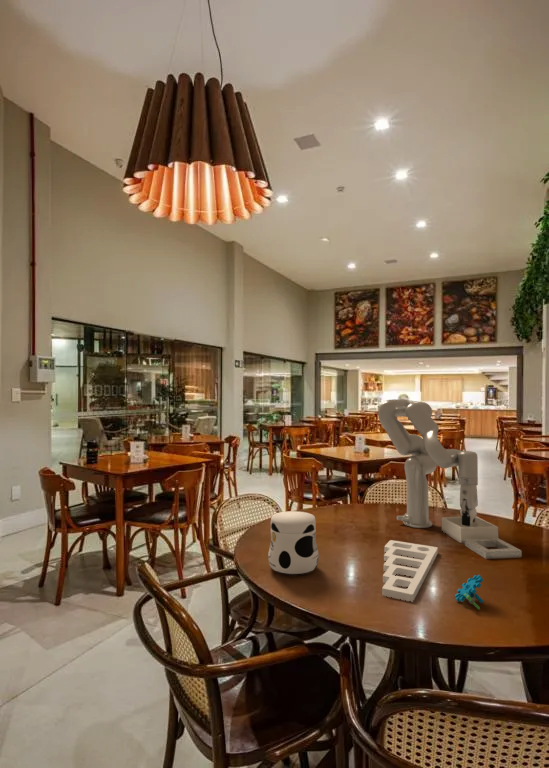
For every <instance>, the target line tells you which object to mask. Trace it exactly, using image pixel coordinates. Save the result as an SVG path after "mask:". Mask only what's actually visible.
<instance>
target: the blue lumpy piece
mask: <svg viewBox="0 0 549 768" xmlns="http://www.w3.org/2000/svg"><path fill="white" fill-rule="evenodd" d="M466 581H467V582H466V583H465V582H463V583H462V584H461V587H462V588H458V589H457V590H456V592H457V593H456V594H455V595H454V597H455V600H456V601H457V603H459V602H461V603H462V602H464V601H465V599H466V600H467V601H468V603H469V604H470V605H473V606H474V607H475V609H477V610H478V611H479V610H480V609H481V607H480V606H479V605H478V604H477V603H476V602H475V601H476V600H477V601H478V602H479V603H480V604H483V602H484V600H483V599H482V598H481V596H479V594H478V593H477V590H476V588H478V589H480V587H481V586H482V584H481V583H483V581H484V578H483V577H482V576H481V574H478V575H476V574H474V575H473V577H469V578H468V579H467V580H466Z"/></svg>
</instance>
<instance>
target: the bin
mask: <svg viewBox="0 0 549 768" xmlns="http://www.w3.org/2000/svg"><path fill="white" fill-rule="evenodd" d="M442 531H443V532H442ZM441 532H442V533H443V534H445V533H446V535H447V536H449V537H450V538H452V539H453V540H454V541H457V542H458V543H460V544H465V540H466V539H489V538H499V527H498V526H497V525H496V524H493V523H491V522H489V521H487V520H485V519H483V518H480V517H479V516H477V515H476V517H475V522H473V523H472V527H465V525H462V516H442V517H441Z"/></svg>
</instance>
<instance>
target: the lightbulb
mask: <svg viewBox="0 0 549 768" xmlns="http://www.w3.org/2000/svg"><path fill="white" fill-rule="evenodd" d="M466 508H468V507H466ZM459 511H460V516H462V510H461V508H460V510H459ZM466 511H467V513H468V510H466ZM477 513H478V512H477V508H474V509H473V510H471V509H470V514H469V516H470V526H465V527H472V523H473V520H474V518H475V517H476V516H477V515H478V514H477Z"/></svg>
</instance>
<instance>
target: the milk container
mask: <svg viewBox="0 0 549 768" xmlns="http://www.w3.org/2000/svg"><path fill="white" fill-rule="evenodd" d="M316 525H317V522H316V517H315V515H314V514H311V513H310V512H306V511H299V510H298V511H293V510H292V511H290V510H289V511H280V512H276V513H275V514H274V513H273V515H272V516H271V518H270V545H269V549H268V553H267V559H268V565H269V566H270V568H271V569H272V570H273V571H274V572H276V573H277V574H280V575H283V576H289V577H290V576H303V575H307V574H310V573H312V572H314V571H315V570H316V569H317V567H318V565H319V557H320V554H319V550H318V546H317V539H316V538H317V529H316V528H317V527H316Z"/></svg>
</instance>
